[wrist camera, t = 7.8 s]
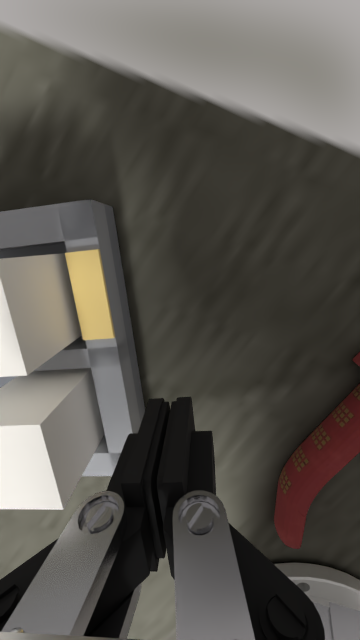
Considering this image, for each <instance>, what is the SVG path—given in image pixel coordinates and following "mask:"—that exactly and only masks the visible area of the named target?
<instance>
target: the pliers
mask: <svg viewBox="0 0 360 640" xmlns="http://www.w3.org/2000/svg"><path fill="white" fill-rule="evenodd" d="M352 360H353V361H354V362H355V363H356V364H357V365H359V366H360V352H359V353H358V354H357V355H356V356H355V357H354V358H353V359H352ZM359 452H360V384H359V385H358V386H357V387H356V388H355V389H354V390H353V391H352V392H351V393H350V394H349V395H348V396H347V397H346V398H345V399H344V400H343V401H342V402H341V403H340V404H339V405H338V406H337V407H336V408H335V409H334V410H333V411H332V413H331V414H330V415H329V416H328V417H327V418H326V419H325V420H324V421H323V422H322V423H321V424H320V425H319V426H318V427H317V428H316V429H315V430H314V431H313V432H312V433H311V434H310V435H309V436H308V437H307V438H306V439H305V440H304V441H303V442H302V444H301V445H300V446H299V447H298V448H297V449H296V450H295V452H294V453H293V454H292V456H291V457H290V458H289V460H288V461H287V463H286V464H285V466H284V468H283V470H282V472H281V474H280V477H279V481H278V489H277V497H276V505H275V514H274V524H275V528H276V531H277V533H278V535H279V537H280V539H281V540H282V542H283V543H284V544H285V545H286V546H288V547H291V548H294V549H300V547H301V543H302V538H303V532H304V526H305V521H306V515H307V512H308V509H309V507H310V505H311V503H312V501H313V499H314V498H315V496H316V495H317V494H318V492H319V491H320V490H321V489H322V488H323V486H324V485H325V484H326V483H327V482H328V481H329V480H330V479H331V478H332V477H333V476H335V475H336V474H337V473H338V472H339V471H340V470H341V469H342V468H343V467H344V466H345V465H346V464H347V463H349V462H350V461H351V460H352V459H353V458H354V457H355V456H356V455H357V454H358V453H359Z"/></svg>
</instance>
